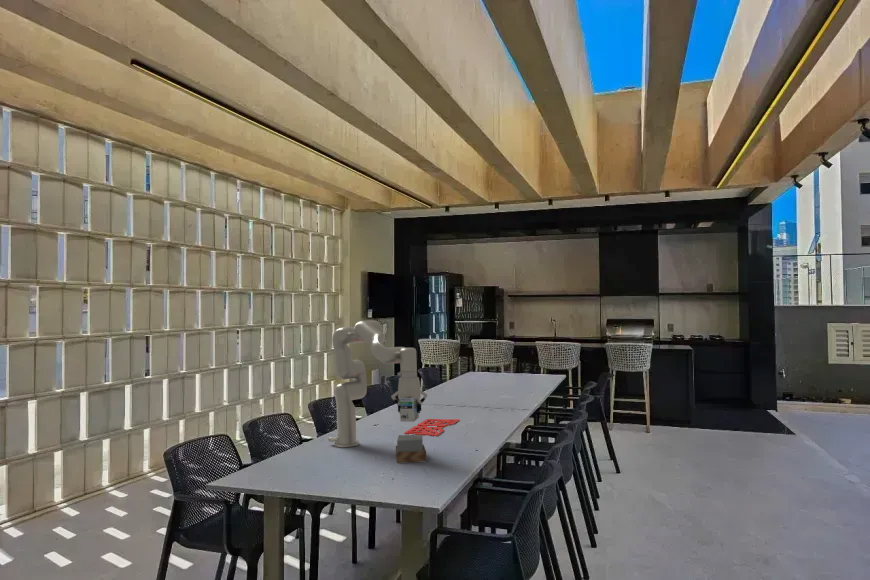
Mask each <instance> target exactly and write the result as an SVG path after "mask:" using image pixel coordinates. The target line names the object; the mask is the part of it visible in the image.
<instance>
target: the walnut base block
mask: <svg viewBox="0 0 870 580" xmlns="http://www.w3.org/2000/svg"><path fill="white" fill-rule="evenodd" d="M395 457H396V458H397V459H396V463H397V464H402V462H408V463H420V462H419V461H426V462H427V450H426V447H425V444H423V447H422V451H415V452H397V445H395Z"/></svg>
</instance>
